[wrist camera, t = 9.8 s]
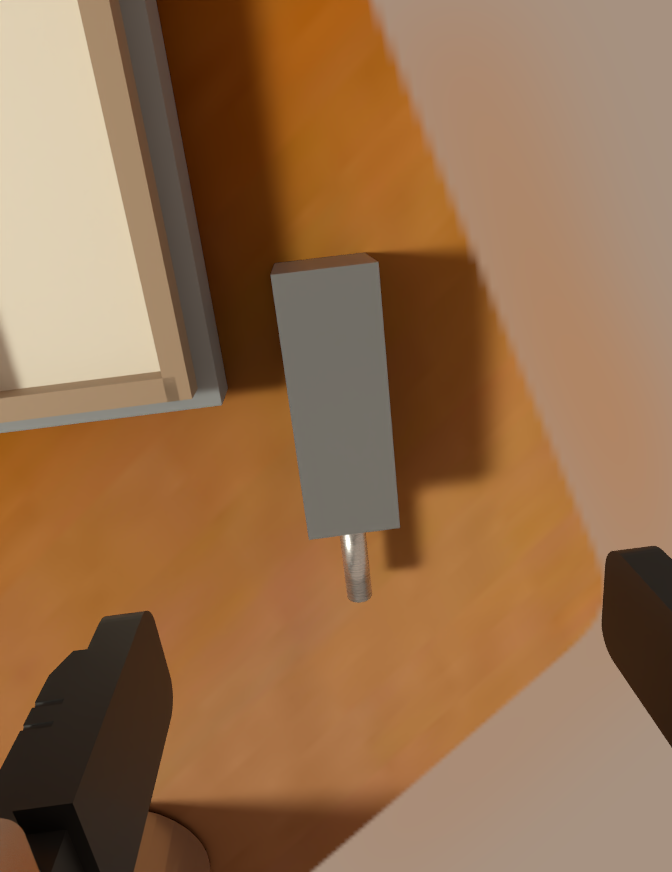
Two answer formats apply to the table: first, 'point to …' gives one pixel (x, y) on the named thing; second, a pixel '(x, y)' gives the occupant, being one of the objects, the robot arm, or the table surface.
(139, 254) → the switch board
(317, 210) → the table surface
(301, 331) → the grey block with bolt
